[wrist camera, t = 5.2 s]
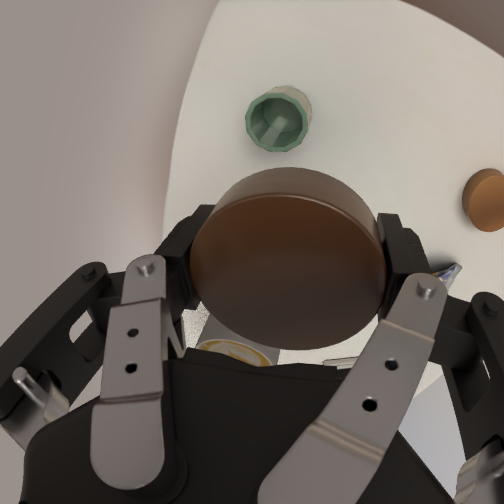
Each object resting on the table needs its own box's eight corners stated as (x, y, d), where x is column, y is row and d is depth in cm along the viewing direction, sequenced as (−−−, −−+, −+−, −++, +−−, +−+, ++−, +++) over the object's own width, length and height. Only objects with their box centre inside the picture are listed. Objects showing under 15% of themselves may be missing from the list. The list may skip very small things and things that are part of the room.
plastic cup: (251, 102, 28) (233, 113, 23) (293, 77, 25) (284, 81, 21) (278, 142, 29) (267, 162, 25) (321, 119, 27) (319, 133, 22)
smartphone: (338, 404, 54) (337, 408, 53) (322, 360, 47) (322, 365, 46) (374, 401, 52) (374, 405, 51) (367, 355, 44) (367, 360, 43)
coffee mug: (274, 339, 46) (261, 395, 38) (212, 316, 46) (189, 370, 39) (308, 277, 38) (298, 340, 30) (231, 249, 38) (203, 307, 30)
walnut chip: (177, 217, 11) (152, 248, 9) (328, 131, 8) (329, 151, 7) (267, 327, 13) (257, 364, 12) (403, 282, 10) (411, 322, 9)
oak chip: (455, 181, 27) (461, 189, 25) (503, 159, 24) (511, 166, 22) (469, 231, 29) (475, 240, 28) (513, 210, 26) (521, 219, 24)
